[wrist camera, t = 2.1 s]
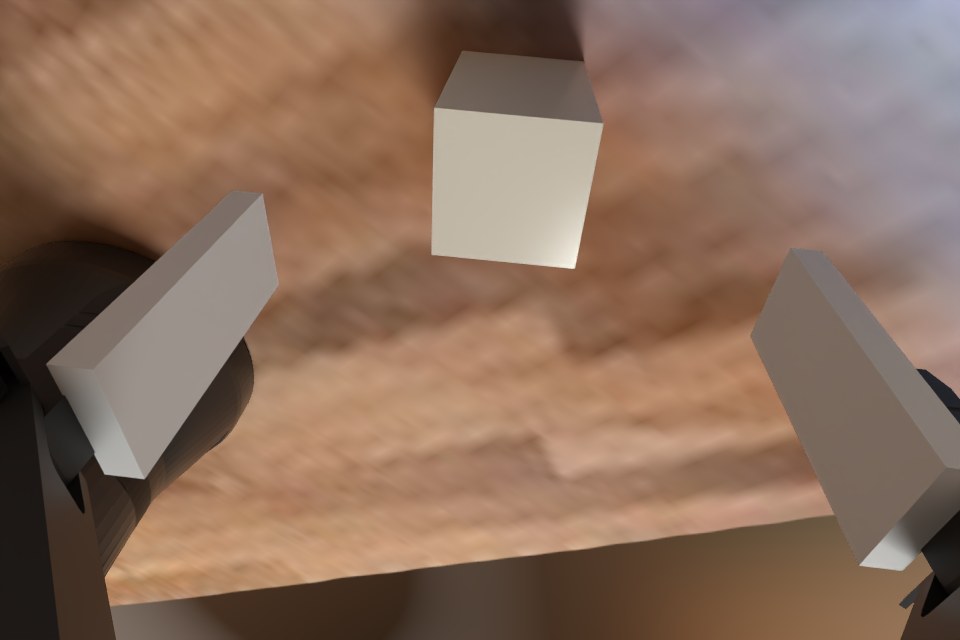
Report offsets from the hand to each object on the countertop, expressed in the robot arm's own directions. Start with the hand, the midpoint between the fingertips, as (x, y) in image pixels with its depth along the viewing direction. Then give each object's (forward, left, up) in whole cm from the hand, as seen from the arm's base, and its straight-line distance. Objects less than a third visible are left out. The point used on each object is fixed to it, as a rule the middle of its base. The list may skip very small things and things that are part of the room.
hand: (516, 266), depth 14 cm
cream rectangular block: (0, 0, -12) cm, 12 cm away
